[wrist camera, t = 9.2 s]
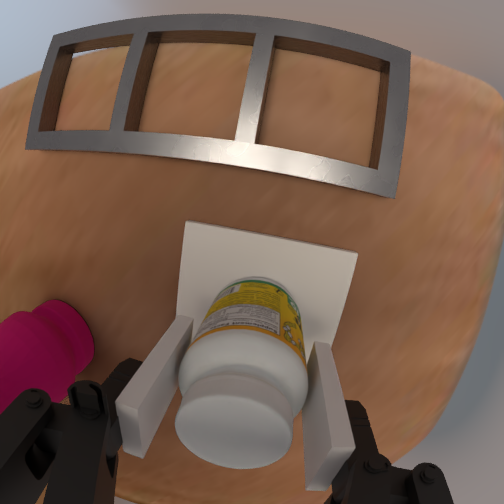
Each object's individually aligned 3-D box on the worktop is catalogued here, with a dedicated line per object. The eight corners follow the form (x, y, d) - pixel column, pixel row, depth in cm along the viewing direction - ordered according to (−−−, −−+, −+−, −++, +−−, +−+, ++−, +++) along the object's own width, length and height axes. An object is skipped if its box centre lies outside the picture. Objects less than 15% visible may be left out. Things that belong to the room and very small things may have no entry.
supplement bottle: (215, 269, 17) (148, 360, 8) (308, 281, 17) (333, 388, 8) (209, 348, 19) (161, 462, 9) (292, 360, 18) (295, 484, 9)
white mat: (175, 360, 20) (172, 365, 19) (188, 219, 17) (185, 221, 17) (314, 387, 19) (315, 392, 19) (355, 251, 17) (358, 253, 16)
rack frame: (40, 150, 17) (25, 149, 16) (66, 42, 15) (53, 35, 13) (383, 197, 16) (394, 199, 14) (400, 61, 14) (410, 51, 12)
